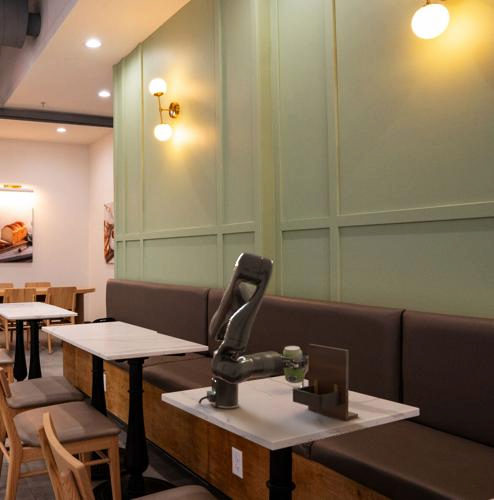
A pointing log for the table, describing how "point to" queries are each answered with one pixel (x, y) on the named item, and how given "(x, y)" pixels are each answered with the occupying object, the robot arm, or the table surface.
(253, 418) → the table surface
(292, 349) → the beverage can
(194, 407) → the table surface
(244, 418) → the table surface
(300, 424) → the table surface
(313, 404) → the wooden backboard stand
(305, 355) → the wine glass
